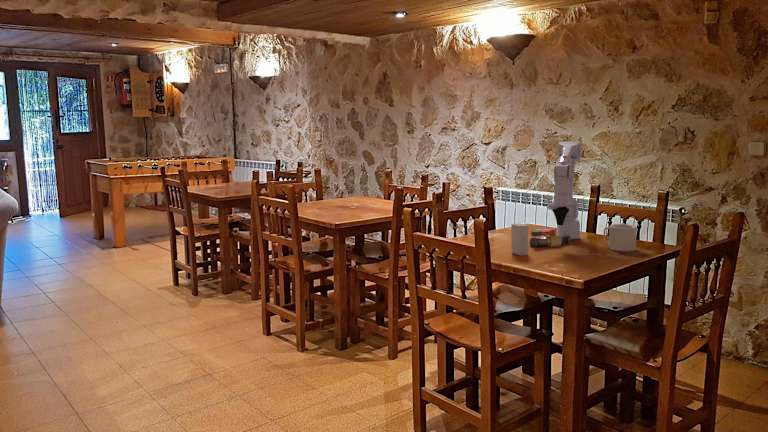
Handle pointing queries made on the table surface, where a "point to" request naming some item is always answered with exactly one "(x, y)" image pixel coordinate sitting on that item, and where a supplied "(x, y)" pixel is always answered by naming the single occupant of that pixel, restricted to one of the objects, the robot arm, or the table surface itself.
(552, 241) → the valve body
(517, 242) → the skincare box
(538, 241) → the pipe
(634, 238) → the mug
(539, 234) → the lever
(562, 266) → the table surface
